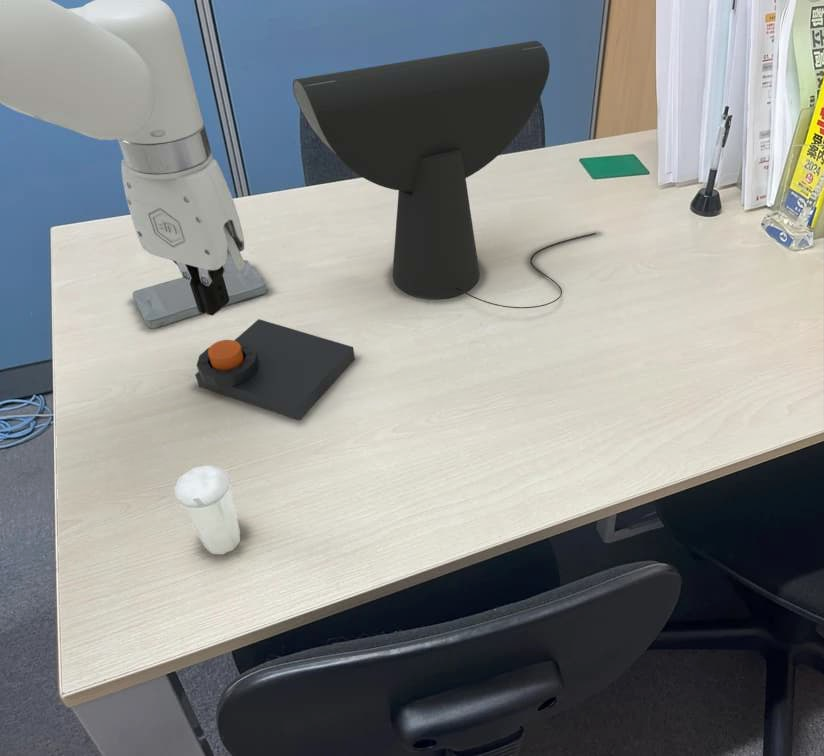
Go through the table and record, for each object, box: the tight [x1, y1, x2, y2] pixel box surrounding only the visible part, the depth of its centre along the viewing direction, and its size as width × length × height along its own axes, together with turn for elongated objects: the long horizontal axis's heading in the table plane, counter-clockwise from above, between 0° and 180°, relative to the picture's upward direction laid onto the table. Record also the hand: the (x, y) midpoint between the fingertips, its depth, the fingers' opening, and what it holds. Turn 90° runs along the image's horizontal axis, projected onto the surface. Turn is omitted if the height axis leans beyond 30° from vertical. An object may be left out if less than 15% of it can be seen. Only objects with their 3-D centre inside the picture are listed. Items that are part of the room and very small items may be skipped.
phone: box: [132, 259, 268, 329], centre depth 97 cm, size 8×16×1 cm, turn 125°
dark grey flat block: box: [194, 318, 356, 421], centre depth 85 cm, size 14×13×4 cm
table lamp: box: [292, 40, 596, 309], centre depth 95 cm, size 40×28×30 cm
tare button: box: [207, 339, 244, 370], centre depth 82 cm, size 4×4×2 cm
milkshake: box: [174, 464, 241, 555], centre depth 64 cm, size 4×5×10 cm
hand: (214, 306), depth 78 cm, fingers closed
